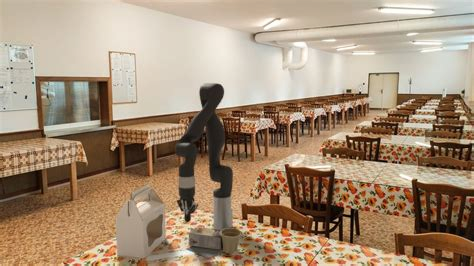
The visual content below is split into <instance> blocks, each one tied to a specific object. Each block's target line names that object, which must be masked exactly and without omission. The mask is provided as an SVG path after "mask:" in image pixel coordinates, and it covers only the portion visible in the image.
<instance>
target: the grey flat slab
mask: <svg viewBox="0 0 474 266" xmlns="http://www.w3.org/2000/svg"><path fill="white" fill-rule="evenodd" d="M186 250H187V251H189V252H192V253H194V254H196V255H199V256H200V257H203V258H205V259H207V260H209V259H211V258H213V257H216V256H218V255H220V254H222V253H224V250H217V249H210V248H204V247H197V246H188V247H186Z"/></svg>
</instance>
